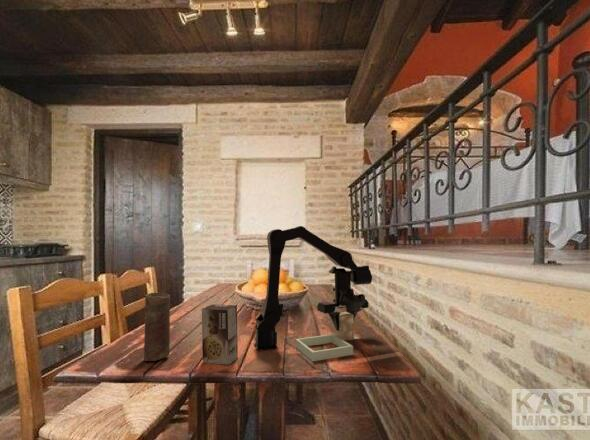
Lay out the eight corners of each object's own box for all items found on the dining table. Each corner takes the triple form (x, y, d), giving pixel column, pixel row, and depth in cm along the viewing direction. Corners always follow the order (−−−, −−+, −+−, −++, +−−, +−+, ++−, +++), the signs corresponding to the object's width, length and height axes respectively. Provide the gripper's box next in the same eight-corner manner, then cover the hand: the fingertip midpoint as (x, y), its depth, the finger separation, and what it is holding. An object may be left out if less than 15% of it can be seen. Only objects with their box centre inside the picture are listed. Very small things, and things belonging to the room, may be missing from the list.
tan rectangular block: (341, 339, 117) (341, 316, 117) (334, 335, 121) (333, 313, 121) (353, 337, 119) (353, 314, 119) (345, 333, 123) (345, 311, 124)
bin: (312, 364, 97) (312, 352, 97) (295, 349, 110) (295, 339, 110) (353, 357, 102) (353, 346, 102) (332, 344, 115) (332, 334, 115)
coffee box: (238, 357, 104) (238, 305, 105) (228, 365, 98) (228, 309, 99) (212, 354, 107) (212, 303, 107) (201, 362, 100) (201, 308, 101)
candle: (162, 352, 109) (162, 291, 110) (174, 357, 105) (174, 293, 106) (139, 359, 104) (139, 294, 104) (151, 365, 99) (151, 296, 100)
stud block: (339, 344, 115) (339, 328, 115) (329, 337, 122) (328, 322, 122) (359, 341, 118) (359, 325, 118) (348, 334, 125) (347, 320, 125)
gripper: (333, 291, 109) (334, 339, 109) (378, 286, 118) (379, 331, 117) (316, 286, 119) (316, 331, 119) (358, 282, 128) (359, 324, 127)
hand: (343, 329), depth 120 cm, fingers closed on tan rectangular block, 5 cm apart
